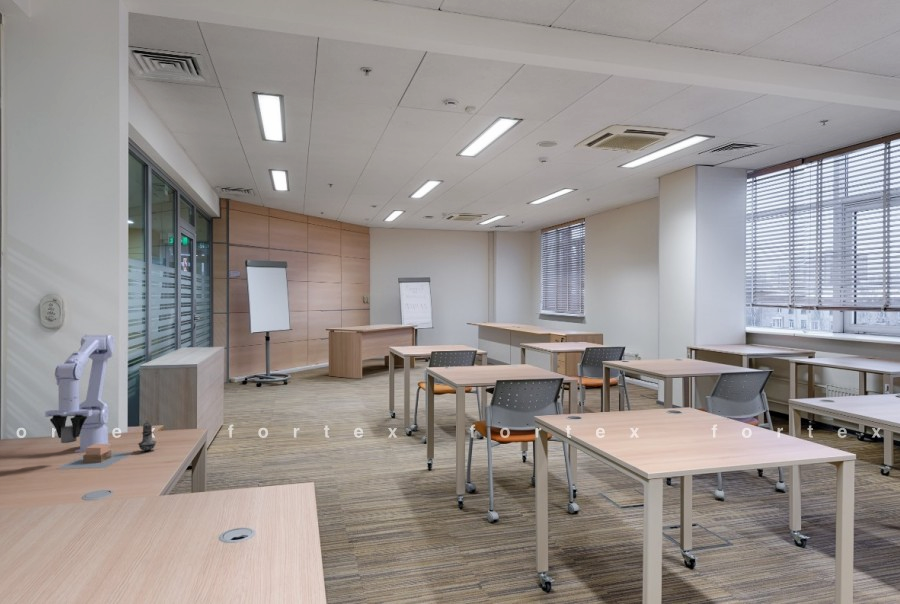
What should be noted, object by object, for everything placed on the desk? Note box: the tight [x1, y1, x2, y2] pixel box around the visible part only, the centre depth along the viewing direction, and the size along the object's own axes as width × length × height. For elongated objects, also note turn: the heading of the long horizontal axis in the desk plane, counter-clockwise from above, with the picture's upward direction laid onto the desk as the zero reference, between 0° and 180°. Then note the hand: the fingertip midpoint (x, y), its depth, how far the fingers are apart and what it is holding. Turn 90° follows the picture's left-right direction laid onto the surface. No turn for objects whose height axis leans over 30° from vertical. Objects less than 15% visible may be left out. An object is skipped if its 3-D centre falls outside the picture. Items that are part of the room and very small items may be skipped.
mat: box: [55, 451, 135, 470], centre depth 183 cm, size 18×16×1 cm
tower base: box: [82, 449, 112, 463], centre depth 183 cm, size 6×6×2 cm
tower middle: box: [85, 443, 110, 455], centre depth 183 cm, size 5×5×2 cm
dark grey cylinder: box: [60, 424, 78, 444], centre depth 179 cm, size 4×4×5 cm
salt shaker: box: [137, 419, 157, 454], centre depth 194 cm, size 6×6×12 cm
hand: (68, 437), depth 180 cm, fingers closed on dark grey cylinder, 4 cm apart
